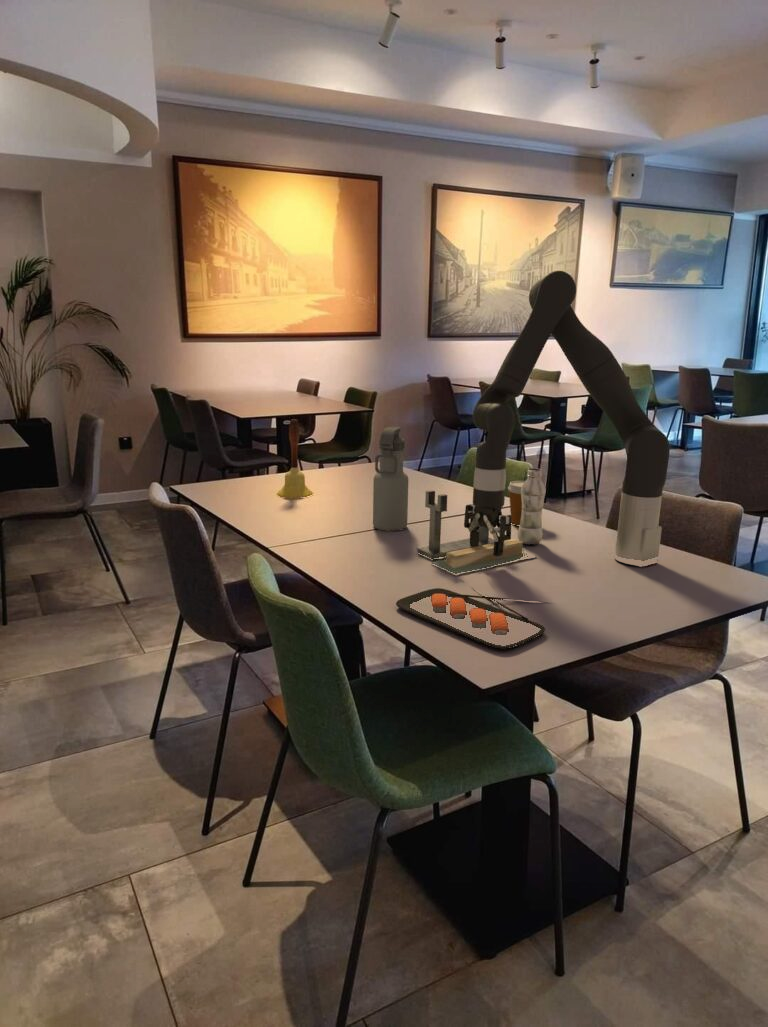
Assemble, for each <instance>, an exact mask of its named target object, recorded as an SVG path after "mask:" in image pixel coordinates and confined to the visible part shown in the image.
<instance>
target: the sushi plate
mask: <svg viewBox="0 0 768 1027" xmlns="http://www.w3.org/2000/svg"><path fill="white" fill-rule="evenodd" d="M430 596H431V602H432V606H433V611H434V612H435V613H446V605H448V602H447V596H448V597H452V598H451V599H450V601H449V603H450V615H451V616H452V618H454V619H464V618H465V615H467V611H466V604H465V602H466V603H469V604H472V605H475V606H476V607H478V608H473V609H471V610H470V611H469V615H470V618H471V622H472V627H473V628H480V629H481V628H486V621H488V618H487V615H486V611H485V610H488V611H491V612H494V613H491V614H490V615H489V619H490V625H491V631H492V633H493V634H496V635H506V634H507V632H509V629H508V623H507V620H506V617H505V616H509V617H511V618H514V619H517V620H520V621H523V622H526V623H530V624H532V625H534V626H536V627H538V628H540V629H541V630H540V631H539V632H538V633H536V634H534V635H532V636H530V637H528V638H526V639H524V640H521V641H519V642H517V643H514V644H510V645H506V646H501V645H495V644H492V643H489V642H486V641H484V640H482V639H479V638H477V637H474V636H472V635H470V634H468V633H466V632H463V631H461V630H459V629H456V628H454V627H452V626H450V625H448V624H446V623H443V622H441V621H439V620H436V619H434V618H432V617H429V616H427V615H424V614H422V613H420V612H418V611H416V610H414V609H412V608H410V604H412V603H413V602H417V601H419V600H421V599H423V598H426V597H430ZM474 598H475V599H474ZM478 599H485V600H489V599H492V600H493V599H494V601H495V599H496V602H497V603H498V604H500V605H501V606H500V605H499V606H500V607H502V606H503V607H502V608H504V609H505V610H504V609H501V608H498V607H496V606H492V605H491V604H488V603H484V602H482V601H479V600H478ZM497 599H498V600H497ZM501 599H502V600H501ZM503 599H510V598H506V597H497V596H496V597H495V596H494V597H493V596H489V597H485V596H481V595H471V594H461V593H459V592H455V591H453V590H449V589H446V588H440V587H438V588H431V589H426V590H423V591H420V592H417V593H414V594H411V595H408V596H405V597H403V598H400V599H398V600H397V601H396V602H395V605H396V607H397V608H399V609H401V610H402V611H404V612H407V613H410V614H412V615H413V616H417V617H418V618H421V619H424V620H426V621H429V622H431V623H433V624H436V626H437V625H438V626H440V627H442V628H445V629H447V630H449V631H452V632H454V633H456V632H457V634H459V635H461V634H462V636H463V635H464V637H466V636H467V637H466V638H468V637H469V639H470V638H471V640H473V639H474V640H473V641H475V640H477V641H476V642H478V641H479V642H478V643H480V642H482V643H484V644H483V645H485V644H487V645H486V646H488V645H490V646H493V647H496V648H495V649H497V648H503V649H502V650H505V649H504V648H509V647H513V646H515V645H519V644H521V643H523V642H525V643H527V642H526V641H528V640H530V639H532V638H534V637H536V636H538V635H540V634H541V633H543V632H544V631H545V632H546V628H545V626H543V625H542V624H540V623H538V622H535V621H532V620H531V619H529V618H528V617H527V616H524V615H523V614H521V613H519V612H517V611H515V610H514V609H512V608H510V607H508V606H506V605H504V604H503V603H501V602H499V601H504V600H503ZM498 604H497V605H498ZM507 610H508V611H507ZM545 632H544V633H545ZM544 633H543V634H544ZM540 636H541V635H540ZM538 637H539V636H538ZM536 638H537V637H536ZM534 639H535V638H534ZM532 640H533V639H532ZM530 641H531V640H530ZM528 642H529V641H528ZM482 643H481V644H482ZM523 644H524V643H523ZM521 645H522V644H521ZM490 646H489V647H490ZM519 646H520V645H519ZM493 647H492V648H493ZM513 648H514V647H513Z"/></svg>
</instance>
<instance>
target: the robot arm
mask: <svg viewBox="0 0 768 1027" xmlns="http://www.w3.org/2000/svg"><path fill="white" fill-rule="evenodd" d="M576 295H577V284H576V282H575V280H574V278H573V277H572V276H571V275H570V274H569V273H568V272H567V271H564V270H553V271H550V272H548V273H546V274H545V275H543V276H542V277H540V278H539V279H538V280H537V281H536V282H534V284H533V285H532V286H531V288H530V291H529V295H528V302H529V305H530V309H531V313H530V315H529V317H528V319H527V321H526V323H525V324H524V326H523V329H522V330H521V331H520V334H519V335H518V336H517V338H516V339H515V341H514V343H512V346H511V347H510V349H509V350H508V353H507V354H506V356H505V358H504V360H503V361H502V364H501V366H500V368H499V369H498V372H497V374H496V376H495V378H494V380H493V382H491V384H489V386H488V387H487V388H486V390H485V391H484V393H482V395H481V396H480V398H479V399H478V400H477V401H476V403H475V405H474V408H473V411H472V422H473V424H474V426H475V427H476V429H479V430H481V431H484V432H487V436H486V439H485V441H482V442H480V443H478V445H477V446H476V454H475V469H474V474H473V489H472V490H473V492H472V503H468V504H466V505H465V511H464V520H463V521H464V523H463V526H464V528H465V529H468V532H469V538H470V546H471V547H477V546H478V545H479V532H478V530H479V529H480V528H481V527H485V528H487V529H489V534H491V535H492V537H493V539H494V540H495V541H494V552H493V555H494V556H496V557H497V556H501V555H502V554H503V546H504V541H507V540H512V539H511V538H512V524H511V514H507V515H506V514H503V513H502V509H503V507H504V506H505V496H506V482H507V473H506V466H507V465H506V463H507V450H508V447H509V445H510V443H511V440H512V435H513V432H514V429H515V424H516V418H515V412H514V410H513V408H512V407H511V405H509V404H507V403H508V402H509V401H510V400H512V399H515V398H518V397H519V396H521V394H522V393H523V391H524V389H525V387H526V385H527V383H528V380H529V379H530V377H531V375H532V372H533V371H534V368H535V366H536V364H537V363H538V360H539V358H540V356H541V354H542V351H543V350H544V347H545V346H546V345H547V344H546V343H547V342H548V340H549V338H550V336H552V337H553V338H554V339H555V341H556V343H557V344H558V346H559V347H560V349H561V351H562V352H563V354H564V356H565V358H566V359H567V360H568V363H569V364H570V366H571V367H572V369H573V370H574V372H575V374H576V375H577V377H578V379H579V381H580V382H581V383H582V385H583V387H584V388H585V390H586V391H587V393H588V394H589V395H590V397H591V398H592V399H593V401H594V402H595V404H597V405H598V406H599V409H601V411H603V413H604V414H606V416H607V417H608V418H609V420H610V421H611V423H612V425H613V427H614V428H615V430H616V432H617V435H618V437H619V438H620V440H621V442H622V444H623V447H624V450H625V451H626V454H627V456H626V463H625V464H626V466H625V473H624V478H623V481H622V487H621V495H620V496H621V497H620V503H619V504H620V505H619V512H618V513H619V514H618V522H617V523H618V524H617V525H618V526H617V533H616V541H615V542H616V543H615V553H614V555H615V554H616V555H617V556H618V557H621V558H626V559H634V560H641V561H645V560H648V559H652V558H655V557H658V558H659V556H660V555H659V554H660V546H661V545H660V544H661V538H662V529H663V527H662V526H660V525H659V522H660V512H661V506H662V499H663V498H662V497H663V492H664V491H663V490H664V487H665V484H666V481H667V473H668V466H669V459H670V452H671V450H670V442H669V439H668V437H667V436H666V434H665V433H663V431H662V430H660V429H659V428H658V427H657V426H656V425H655V424H654V423H653V421H651V419H650V418H649V417H648V415H647V414H646V413H645V412H644V410H643V408H642V407H641V406H640V404H639V402H638V400H637V398H636V397H635V394H634V392H633V389H632V387H631V384H630V382H629V379H628V378H627V375H626V373H625V372H624V370H623V368H622V366H621V365H620V363H619V361H618V359H617V358H616V357H615V355H614V354H613V351H611V350H610V348H609V347H608V346H607V345H606V343H604V342H603V341H602V340H601V339H599V337H597V336H596V335H595V334H594V333H593V332H592V331H590V330H589V329H588V328H587V327H585V325H584V324H583V323H582V321H581V320H580V319H579V318H578V316H577V314H576V312H575V311H574V309H573V307H572V304H573V302H574V301H575V298H576Z"/></svg>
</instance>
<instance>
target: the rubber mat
mask: <svg viewBox="0 0 768 1027" xmlns="http://www.w3.org/2000/svg"><path fill="white" fill-rule="evenodd" d="M522 551H523V553H521V554H517V555H512V556H508V557H503V558H499V559H494V560H490V561H485V562H480V563H476V564H471V565H467V566H462V567H458V568H452V567H450V566H448V565H446V559H443V560H442V559H441V560H438V561H437V560H436V561H431V565H432V564H435V565H437V566H439V567H441V568H444V569H446V570H448V571H450V572H453V573H455V574H457V573H461V572H467V571H472V570H477V569H482V568H487V567H491V566H494V565H498V564H502V563H506V562H510V561H514V560H517V559H520V558H521V557H523V554H524V556H525V553H524V551H525V550H524V549H522ZM526 555H527V553H526ZM527 557H528V556H527Z"/></svg>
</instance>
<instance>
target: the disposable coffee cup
mask: <svg viewBox="0 0 768 1027" xmlns="http://www.w3.org/2000/svg"><path fill="white" fill-rule="evenodd" d="M525 481H526V480H514V481H510V482H509V485H508V486H507V489H508V492H509V494H508V495H509V507H510V509H509V510H510V515H511V523H512V524H515V525H520V521H521V514H522V498H521V488H522V485H523V484H524V482H525ZM512 524H511V525H512Z"/></svg>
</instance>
